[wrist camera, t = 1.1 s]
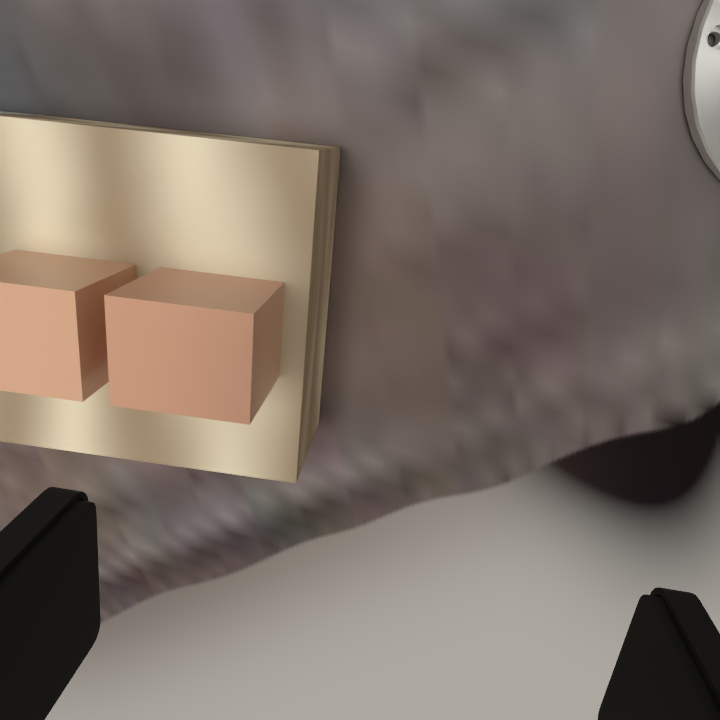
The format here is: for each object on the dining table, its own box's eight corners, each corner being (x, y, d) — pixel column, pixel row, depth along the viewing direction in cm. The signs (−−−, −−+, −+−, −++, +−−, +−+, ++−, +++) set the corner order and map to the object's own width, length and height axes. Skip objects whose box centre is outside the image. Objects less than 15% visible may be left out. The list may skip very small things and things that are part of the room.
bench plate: (341, 146, 27) (318, 150, 22) (318, 423, 32) (296, 483, 27) (45, 115, 28) (-49, 110, 23) (67, 389, 33) (-6, 440, 28)
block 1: (136, 264, 24) (74, 291, 20) (139, 358, 26) (82, 401, 21) (15, 249, 24) (-70, 273, 20) (25, 342, 26) (-52, 383, 22)
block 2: (284, 282, 24) (253, 313, 20) (279, 376, 25) (249, 424, 21) (160, 267, 24) (104, 295, 20) (162, 360, 25) (110, 405, 21)
